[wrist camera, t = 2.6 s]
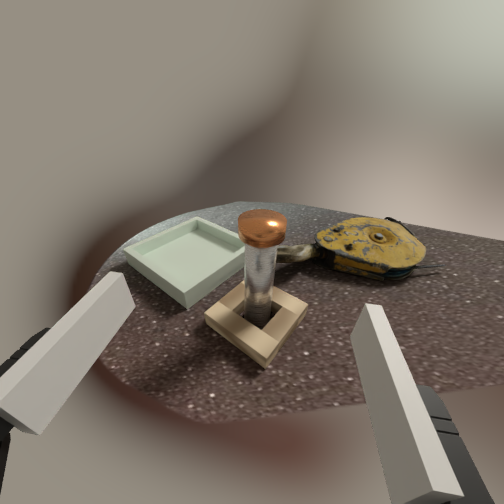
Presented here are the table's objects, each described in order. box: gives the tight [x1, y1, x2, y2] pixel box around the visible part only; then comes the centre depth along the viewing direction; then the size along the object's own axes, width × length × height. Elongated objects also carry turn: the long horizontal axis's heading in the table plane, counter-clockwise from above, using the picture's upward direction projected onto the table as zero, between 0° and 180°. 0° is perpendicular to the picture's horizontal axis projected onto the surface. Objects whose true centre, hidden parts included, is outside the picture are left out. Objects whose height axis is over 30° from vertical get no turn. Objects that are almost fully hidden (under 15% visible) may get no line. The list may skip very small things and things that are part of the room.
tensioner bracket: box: [204, 280, 308, 369], centre depth 28 cm, size 9×9×2 cm
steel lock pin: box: [238, 209, 287, 330], centre depth 24 cm, size 4×4×14 cm
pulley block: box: [276, 217, 445, 281], centre depth 38 cm, size 14×6×30 cm
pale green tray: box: [123, 217, 245, 309], centre depth 37 cm, size 15×15×3 cm
